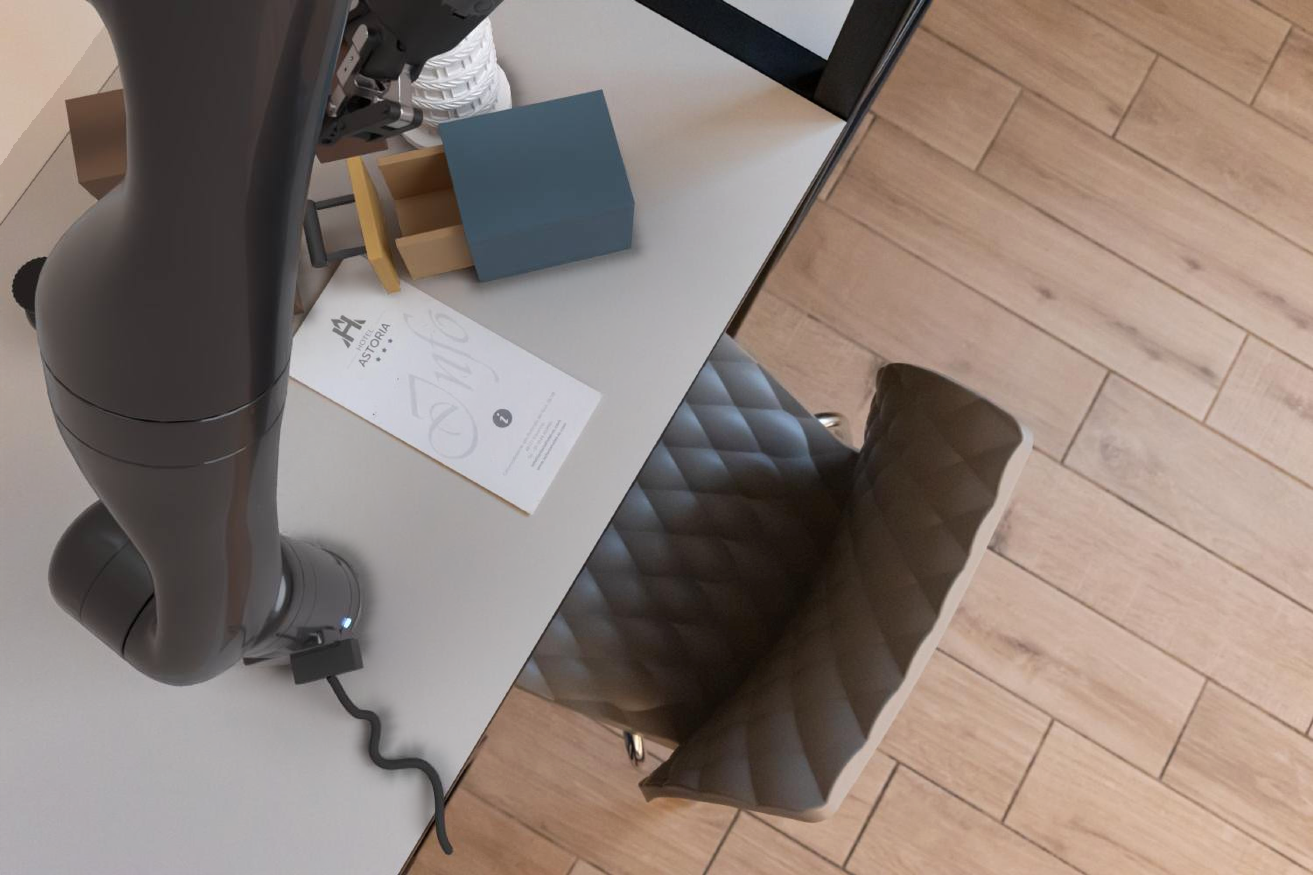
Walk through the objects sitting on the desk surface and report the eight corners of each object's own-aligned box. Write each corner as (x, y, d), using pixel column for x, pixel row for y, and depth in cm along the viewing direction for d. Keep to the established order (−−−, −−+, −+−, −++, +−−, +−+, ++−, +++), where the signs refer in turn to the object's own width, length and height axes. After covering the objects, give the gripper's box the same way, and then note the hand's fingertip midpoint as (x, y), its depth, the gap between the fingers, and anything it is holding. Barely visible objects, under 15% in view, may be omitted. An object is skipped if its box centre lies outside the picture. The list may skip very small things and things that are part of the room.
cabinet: (480, 283, 91) (466, 240, 82) (454, 177, 94) (437, 123, 84) (631, 248, 93) (634, 202, 84) (602, 144, 95) (602, 89, 86)
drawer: (331, 307, 89) (306, 274, 82) (310, 209, 91) (284, 168, 84) (532, 261, 91) (526, 225, 84) (507, 166, 93) (499, 123, 86)
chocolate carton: (389, 150, 72) (363, 88, 64) (320, 165, 72) (285, 105, 64) (378, 101, 73) (351, 34, 65) (309, 115, 72) (274, 50, 65)
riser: (303, 312, 90) (174, 162, 63) (237, 328, 89) (77, 183, 62) (291, 253, 91) (159, 80, 64) (226, 268, 90) (64, 99, 63)
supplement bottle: (171, 333, 89) (106, 284, 77) (111, 386, 87) (36, 344, 76) (120, 283, 90) (48, 227, 78) (60, 335, 88) (-22, 285, 77)
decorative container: (509, 160, 94) (488, 47, 77) (387, 156, 94) (338, 41, 76) (514, 53, 97) (495, -80, 79) (395, 48, 96) (349, -87, 79)
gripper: (371, -175, 56) (235, 4, 67) (425, 40, 53) (274, 192, 64) (474, -121, 62) (334, 36, 72) (528, 76, 59) (374, 210, 70)
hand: (307, 108), depth 68 cm, fingers closed on chocolate carton, 4 cm apart
